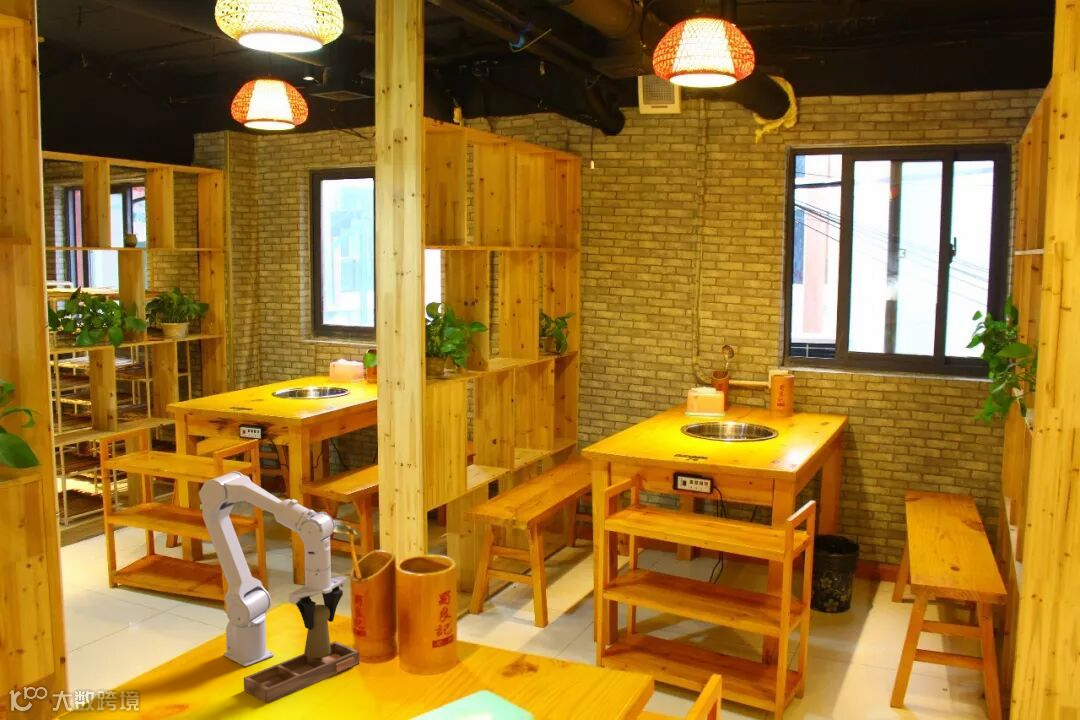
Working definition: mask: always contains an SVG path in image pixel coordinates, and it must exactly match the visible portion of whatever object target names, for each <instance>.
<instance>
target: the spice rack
mask: <svg viewBox="0 0 1080 720" xmlns="http://www.w3.org/2000/svg"><path fill="white" fill-rule="evenodd" d="M330 647H331V653H330V654H329V655H328V656H326V657H322V658H310V657H307V656H306V655H305V654H304V653H302V654H299V655H298V656H295V657H291V658H290V659H286V660H284V661H282V662H280V663H277V664H275V665H272V666H270V667H267V668H263V669H262V670H259V671H257V672H255V673H252V674H250V675H247V676H245V677H243V691H244V692H246V693H247V692H248V693H247V694H249V693H250V694H249V695H251V694H252V695H251V696H253V697H255V698H256V699H258V698H259V699H258V700H260V701H262V700H263V701H262V702H264V701H265V702H264V703H266V704H267V703H268V704H270V703H271V702H272V703H273V702H274V700H275V701H277V700H279V699H281V698H283V697H286V696H288V695H290V694H293V693H295V692H298V691H300V690H302V689H304V687H305V688H306V686H307V687H309V686H311V684H312V685H313V684H316V683H318V682H321V681H323V680H325V679H327V678H329V677H332V676H335V675H337V674H339V673H341V671H342V672H344V671H346V670H348V669H347V668H349V667H351V666H353V667H355V666H357V665H356V664H358V663H359V664H360V651H358V650H357V649H355V648H353V647H350V646H347V645H346V644H343V643H341V642H339V641H333V642H330ZM359 664H358V665H359ZM354 665H355V666H354ZM351 668H352V667H351ZM345 669H346V670H345ZM349 669H350V668H349ZM343 670H344V671H343ZM338 672H339V673H338ZM334 674H335V675H334ZM322 679H323V680H322ZM320 680H321V681H320ZM269 702H270V703H269Z"/></svg>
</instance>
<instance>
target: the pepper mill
mask: <svg viewBox="0 0 1080 720" xmlns="http://www.w3.org/2000/svg"><path fill="white" fill-rule="evenodd" d="M329 617H330V610H329V608H328V607H327V606H325V605H324V604H315V608H314V614H313V629H311V630H310V629H307V634H306V638H305V639H306V640H305V646H304V650H303V652H304V653H303V654H305V655H306V656H307V657H310V658H322V657H326V656H328V655H329V654H330V653H331V647H330V643H331V639H330V631H329V623H328V622H329V621H328V619H329Z"/></svg>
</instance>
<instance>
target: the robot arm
mask: <svg viewBox="0 0 1080 720" xmlns="http://www.w3.org/2000/svg"><path fill="white" fill-rule="evenodd" d="M198 496H199V499H200V502H201V504H202V507H201V508H202V511H201V512H202V513H201V514H202V518H203V522H204V525H205V527H206V530H207V532H208V535H209V537H210V540H211V543H212V545H213V549H214V551H215V553H216V556H217V558H218V561H219V563H220V566H221V569H222V571H223V574H224V577H225V579H226V583H227V585H228V588H227V592H226V593H225V595H224V601H225V605H226V617H227V618H228V620H229V621H228V622H227V625H226V629H225V636H226V637H225V638H226V640H225V641H226V642H225V644H226V652H223V654H222V655H223V656H224V657H226V658H228V659H230V660H231V661H233V662H235V663H238V664H239V665H241V666H243V667H249V666H250V665H254V664H256V663H259V662H261V661H264V660H266V659H268V658H271V657H274V655H275V653H274V652H272V651H270V650H268V649H267V632H266V631H267V629H266V626H267V625H266V621H267V620H266V617H267V611H268V610H269V609H270V608H271V606H272V597H271V595H270V592H268V591H267V590H266V589H265V587H264V586H263V582H262V581H261V580H260V579H258V578H255V577H253V576H252V573H251V569H250V568H249V565H248V563H247V559H246V558H245V555H244V551H243V549H242V547H241V544H240V542H239V538H238V536H237V533H236V531H235V530H236V529H235V528H234V526H233V523H232V519H231V517H230V514H231V512H232V510H233V508H234V506H235V504H236V503H239V502H247V503H249V504H251V505H253V506H256V507H257V508H260V509H262V510H265V511H266V512H269V513H271V514H273V516H274V519H275V522H277V523H279V524H280V525H282V526H284V527H286V528H288V529H290V530H291V531H293V532H295V533H298V535H299V538H300V540H301V541H302V543H303V549H304V573H305V574H304V576H305V577H304V579H305V580H304V581H305V583H304V584H305V585H303V586H301V587H299V588H298V589H297V590H295V591H293V592H290V593H288V602H289V603H291V604H294V605H295V606H297V609H298V611H299V612H300V615H301V617H302V621H303V624H304V628H305V629H307V630H308V629H310V630H311V629H313V614H314V608H315V605H317V603H316V601H313V600H312V598H311V597H314V596H318V595H321V596H322V600H323V605H325V606H327V607H328V608H329V610H330V617H329V619H328V620H327V621H328V622H330V623H331V622H334V619H335V614H336V611H337V607H338V605H339V602H340V600H341V599H342V597H343V594H344V591H343V590H342V589H340V588H344V587H347V586H348V585H347V578H346V577H345V576H338V577H334V578H332V571H331V569H332V568H331V566H332V564H331V558H332V557H331V535H332V534H333V533H334V531H335V522H334V519H333V517H332V516H331V515H329V514H328V513H327V512H325V511H320V512H316V511H315V510H313V509H309V508H307V507H305V506H303V505H301V504H300V503H298V502H299V501H298V500H296V499H294V498H293V499H290V498H289V499H285V500H284V499H283V500H281V499H279V498H278V497H276V496H275V495H273V494H271V493H270V492H268V491H267V490H266V489H264V488H262V487H260V486H259V485H258V484H256V483H254V482H253V481H252V480H251V478H250V476H247V475H244V474H242V473H241V472H239V471H237V470H236V471H235V470H234V471H229V472H228V473H226V474H223V475H221V476H218V477H216V478H215V477H214V478H213V479H209V480H206V481H205V482H204V483H203V485H202V486H201V489H200V491H199V492H198Z"/></svg>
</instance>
